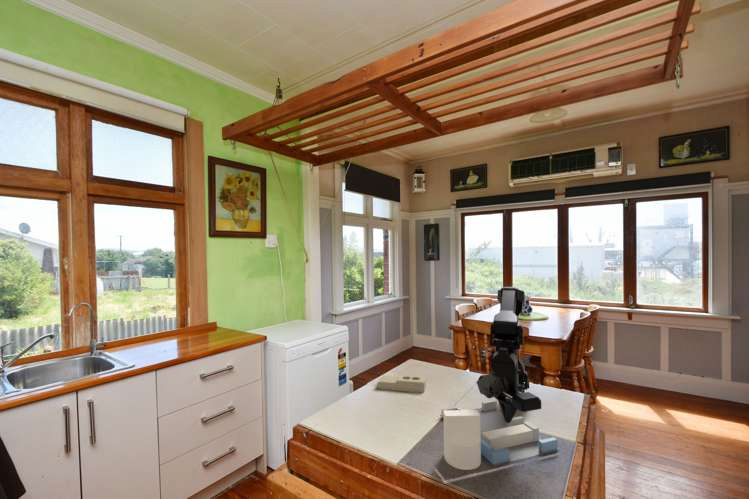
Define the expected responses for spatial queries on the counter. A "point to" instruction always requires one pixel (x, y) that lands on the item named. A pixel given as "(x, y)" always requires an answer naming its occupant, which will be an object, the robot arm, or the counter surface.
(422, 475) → the counter surface
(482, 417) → the board
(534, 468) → the counter surface
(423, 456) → the counter surface
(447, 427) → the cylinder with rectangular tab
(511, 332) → the robot arm
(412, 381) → the electrical outlet
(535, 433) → the long cream plank
